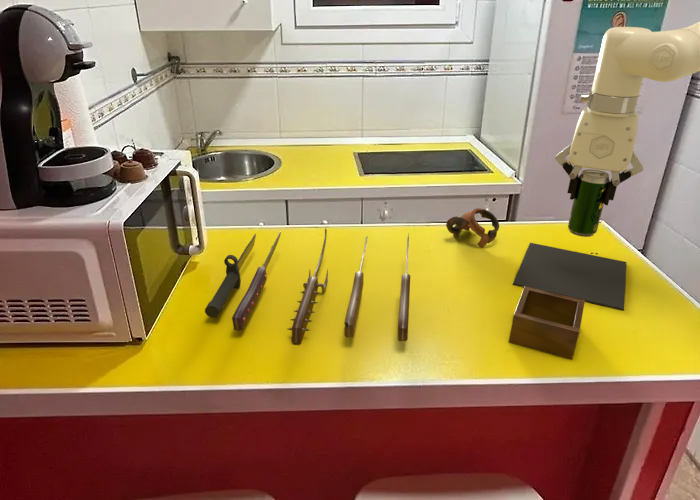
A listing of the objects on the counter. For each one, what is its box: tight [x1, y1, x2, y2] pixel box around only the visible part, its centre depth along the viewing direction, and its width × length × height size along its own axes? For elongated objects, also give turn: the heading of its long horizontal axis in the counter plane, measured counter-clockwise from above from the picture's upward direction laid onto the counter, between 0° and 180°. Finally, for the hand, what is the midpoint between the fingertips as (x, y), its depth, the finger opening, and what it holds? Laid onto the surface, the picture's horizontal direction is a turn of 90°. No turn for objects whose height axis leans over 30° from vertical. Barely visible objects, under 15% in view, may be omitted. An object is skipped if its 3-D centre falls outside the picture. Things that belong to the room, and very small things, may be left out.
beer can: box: [567, 168, 611, 238], centre depth 100 cm, size 5×5×12 cm
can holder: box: [508, 286, 586, 360], centre depth 87 cm, size 10×10×6 cm
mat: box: [512, 242, 627, 312], centre depth 107 cm, size 20×20×1 cm
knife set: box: [204, 228, 411, 344], centre depth 98 cm, size 35×33×8 cm
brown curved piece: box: [445, 207, 500, 248], centre depth 119 cm, size 12×10×8 cm
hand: (589, 199), depth 99 cm, fingers closed on beer can, 5 cm apart
